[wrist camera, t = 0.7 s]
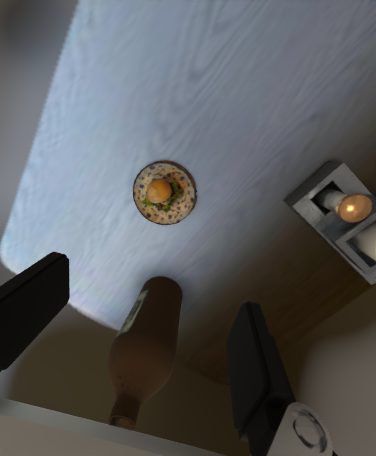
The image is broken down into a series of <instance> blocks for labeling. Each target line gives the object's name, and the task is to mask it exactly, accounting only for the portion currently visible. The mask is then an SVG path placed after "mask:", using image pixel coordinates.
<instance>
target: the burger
mask: <svg viewBox="0 0 376 456" xmlns="http://www.w3.org/2000/svg"><path fill="white" fill-rule="evenodd" d="M196 192H197V191H196V189H195V184H194V181H193V178H192V176H191V175H190V173H189V172H188V171H187V170H186V169H185V168H183V167H181V166H180V165H178V164H176V163H174V162H170V161H158V162H154V163H152V164H150V165H148V166H146V167H145V168H144V169H142V170H141V171H140V173H139V174H138V175H137V177H136V179H135V181H134V185H133V198H134V202H135V204H136V206H137V209H138V210H139V212H140V213H141V214H142V215H143V216H144V217H145V218H146V219H148V220H149V221H151V222H154V223H156V224H160V225H171V224H176V223H179V222H180V221H181V220H183V219H184V218H185V217H186V216H188V215H189V214H190V212H191V211H192V210H193V209H194V207H195V204H196V199H197V196H196Z"/></svg>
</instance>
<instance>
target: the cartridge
mask: <svg viewBox="0 0 376 456" xmlns="http://www.w3.org/2000/svg"><path fill="white" fill-rule="evenodd" d="M346 242H348V243H349V244H351V245H352V246H354V247H355V248H357V249H358V250H360V251H362V252H363V253H365V254H366V255H368V256H369V257H371V258H372V259H374V260H375V261H376V220H375V221H374V222H372V223H371V224H369V225H368V226H367V227H365V228H364V229H362V230H361V231H359V232H358V233H357V234H355V235H354V236H352V237H351V238H350V239H348V240H347V241H346Z"/></svg>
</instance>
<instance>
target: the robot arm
mask: <svg viewBox="0 0 376 456" xmlns="http://www.w3.org/2000/svg"><path fill="white" fill-rule="evenodd" d="M69 297H70V296H69V259H68V258H67V256H66V255H65V254H61V253H57V252H52V253H50V254H48V255H47V256H45V257H44V258H42V259H41V260H39V261H38V262H36V263H35V264H33V265H32V266H30V267H29V268H27V269H26V270H24V271H23V272H21V273H20V274H18V275H17V276H15V277H14V278H12V279H10V280H9V281H7V282H6V283H4V284H3V285H1V286H0V372H1V371H2V370H5V369H7V368H8V367H9V366H10V365H11V364H12V363H13V362H14V361H15V360H16V359H17V357H18V356H19V355H20V354H21V353H22V352H23V351H24V350H25V349H26V348H27V347H28V345H29V344H30V343H31V342H32V341H33V340H34V339H35V338H36V337H37V336H38V334H39V333H40V332H41V331H42V330H43V329H44V328H45V327H46V326H47V325H48V324H49V322H50V321H51V320H52V319H53V318H54V317H55V316H56V315H57V314H58V313H59V312H60V311H61V309H62V308H63V307H64V306H65V305H66V304H67V302H68V300H69ZM226 347H227V357H228V368H229V378H230V387H231V388H230V389H231V399H232V409H233V420H234V426H235V428H236V429H238V433H239V440H241V441H246V442H249V449H250V453H251V454H252V455H251V456H338V455H337V454H336V453H335V452H334V451H333V450H332V442H331V438H330V435H329V433H328V431H327V429H326V427H325V425H324V424H323V422H322V421H321V419H320V418H319V417H318V416H317V415H316V414H315V413H314V412H313V411H312V410H311V409H310V408H308V407H307V406H305V405H303V404H301V403H297V402H296V401H295V397H294V395H293V392H292V389H291V386H290V383H289V380H288V377H287V375H286V372H285V369H284V366H283V363H282V360H281V357H280V355H279V352H278V349H277V346H276V343H275V340H274V338H273V337H272V335H270V334H269V331H268V328H267V325H266V322H265V319H264V316H263V313H262V310H261V307H260V305H259V304H257V303H253V302H249V301H247V302H246V303H243V304H242V306H241V308H240V311H239V313H238V315H237V317H236V319H235V322H234V324H233V326H232V328H231V330H230V333H229V335H228V337H227V341H226ZM0 456H224V455H221V454H217V453H214V452H210V451H207V450H203V449H200V448H196V447H192V446H189V445H185V444H181V443H177V442H173V441H169V440H165V439H161V438H158V437H154V436H150V435H146V434H142V433H138V432H135V431H131V430H127V429H123V428H119V427H115V426H111V425H107V424H103V423H99V422H95V421H92V420H88V419H84V418H80V417H76V416H72V415H68V414H64V413H60V412H56V411H52V410H48V409H44V408H40V407H36V406H32V405H27V404H23V403H20V402H15V401H12V400H8V399H3V398H0Z"/></svg>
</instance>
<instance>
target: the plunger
mask: <svg viewBox="0 0 376 456" xmlns="http://www.w3.org/2000/svg"><path fill="white" fill-rule="evenodd" d="M313 200H314V202H315V203H317V204H319V205H321V206H323V207H325V208H328V209H330V210H332V211H334V212H336V214H337V215H338V217H339V218H341V219H343V220H345V221H347V222H358V221H360V220H362V219H364V218H365V217H366V216H367V215H368V214H369V213H370V211H371V208H372V202H371V200H370V199H369V198H368V197H366V196H363V195H360V194H350V195H348V194H345V193H342V192H339V191H336V190H332V189H329V188H326V187H324V188H323V189H321V190H320V191H319V192H318V193H317V194H316V195H314V196H313Z"/></svg>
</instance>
